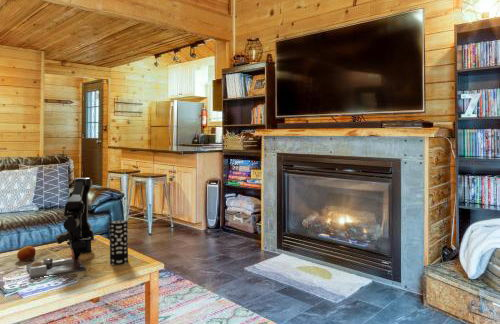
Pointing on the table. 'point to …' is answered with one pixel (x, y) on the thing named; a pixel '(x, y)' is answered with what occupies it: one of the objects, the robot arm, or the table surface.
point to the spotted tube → (118, 242)
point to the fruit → (26, 253)
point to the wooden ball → (37, 264)
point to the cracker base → (55, 269)
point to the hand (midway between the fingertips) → (75, 258)
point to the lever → (59, 261)
